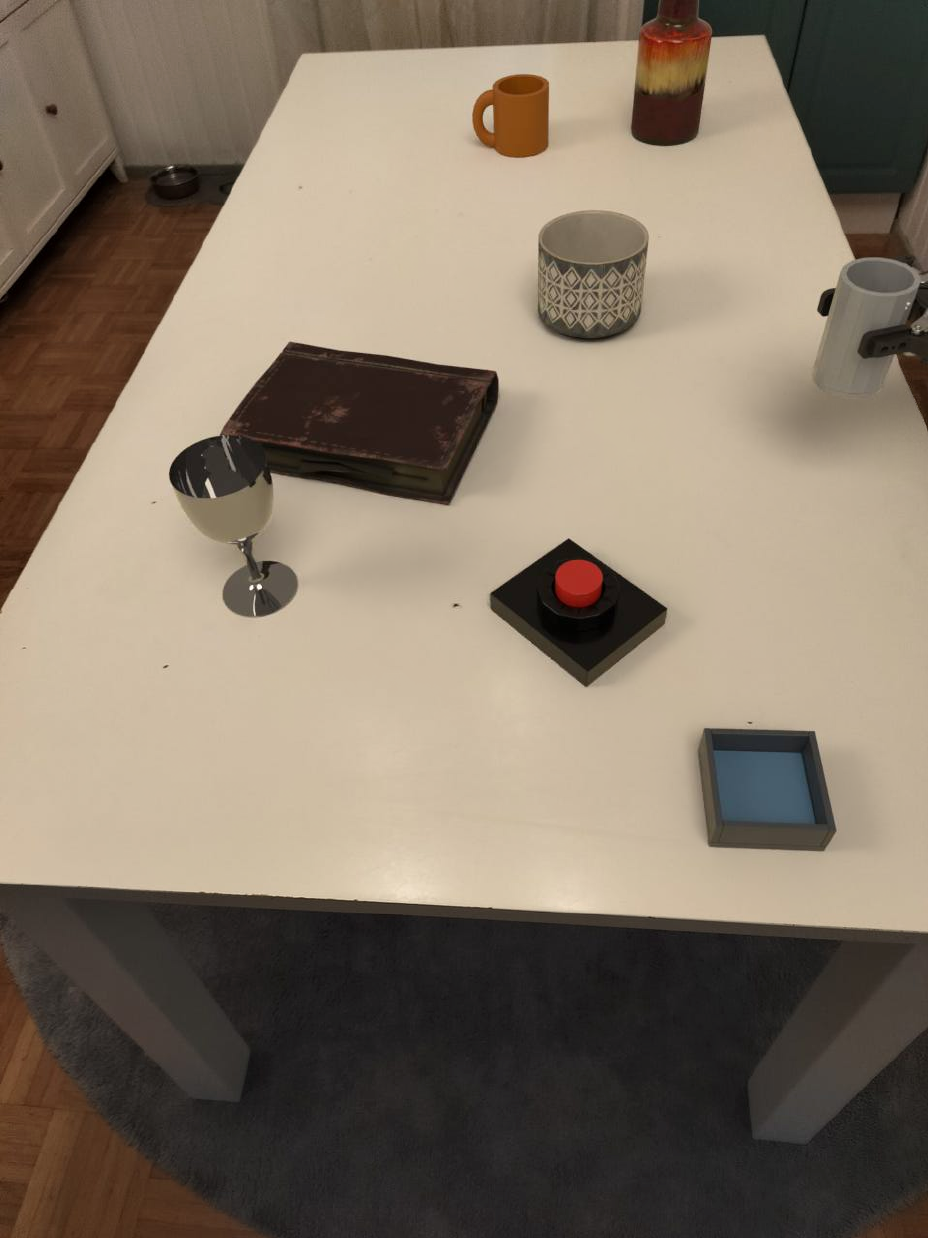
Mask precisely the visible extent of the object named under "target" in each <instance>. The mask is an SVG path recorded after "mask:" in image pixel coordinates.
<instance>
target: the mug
mask: <svg viewBox="0 0 928 1238" xmlns="http://www.w3.org/2000/svg"><path fill="white" fill-rule="evenodd" d="M490 106H492V113H493V114H492V115H493V116H492V118H493V119H492V121H493V132H490V130H488V129H487V128H486V126H485V124H484V112H485V111H486V109H487V108H488V107H490ZM549 114H550V81H548V79H547V78H545V77H543V76H542V75H541V76H540V75H537V74H530V73H522V74H521V73H519V74H512V75H507V76H503V77H501V78H499V79H497V80H496V81H494V82H493V84H492V88H491V89H488V90H485V91H483V92H482V93H481V94H480V95H479V96H478V97H477V98H476V100H475V103H474V105H473V108H472V114H471V116H472V117H471V118H472V119H471V120H472V121H471V123H472V126H473V127H472V128H473V131H474V132H475V136H476V137H477V139H478V140H479V141H480V143H482V144H483V145H484V146H485V147H488V148H491V149H494V150H495V151H496V152H497V153H499V154H500V155H502V156H505V157H509V158H527V157H531V156H532V157H533V156H536V155H539V154H541V153H543V152H544V151H546V150H547V148H548V147H549V128H550V127H549V123H550V122H549V121H550V119H549V118H550V115H549Z"/></svg>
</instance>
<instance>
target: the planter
mask: <svg viewBox="0 0 928 1238" xmlns="http://www.w3.org/2000/svg"><path fill="white" fill-rule="evenodd" d="M649 235H650V234H649V231H648V229H647V228H646V227H645V225H643V223H642V222H640V220H637V219H636V218H634V217H631V216H629V215H627V214H624V213H620V212H617V211H611V210H601V209H587V210H578V211H572V212H568V213H565V214H562V215H559V216H557V217H555V218H553V219H551V220H550V221H548V222H547V223H545V224H544V225H543V227H542V228H541V229H540V231H539V233H538V238H537V239H538V240H537V241H538V242H537V243H538V245H537V246H538V249H537V250H538V252H537V255H538V256H537V314H538V316H539V318H540V321H542V323H544V325H545V326H547V328H549V329H551V330H553V331H554V332H557V333H559V334H562V335H565V336H568V337H574V338H579V339H581V338H583V339H597V338H598V339H599V338H605V337H610V336H613V335H617V334H619V333H622V332H624V331H626V330H628V329H629V328H630V327H632V326H633V325H634V324H635V323H636V322H637V321H638V319H639V317H640V315H641V311H642V306H643V305H642V303H643V302H642V301H643V295H644V286H645V277H646V276H645V275H646V268H647V260H648V259H647V257H648V250H649V240H650V236H649Z"/></svg>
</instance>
